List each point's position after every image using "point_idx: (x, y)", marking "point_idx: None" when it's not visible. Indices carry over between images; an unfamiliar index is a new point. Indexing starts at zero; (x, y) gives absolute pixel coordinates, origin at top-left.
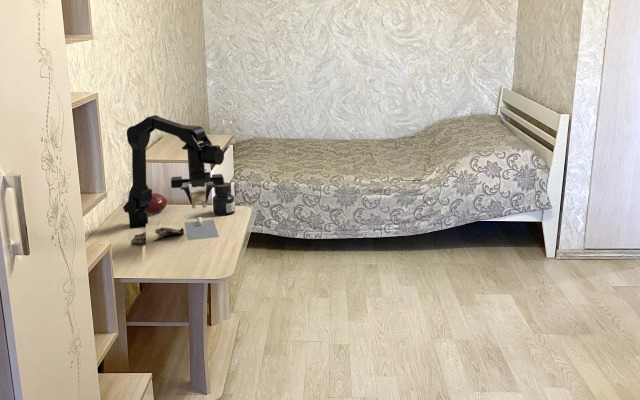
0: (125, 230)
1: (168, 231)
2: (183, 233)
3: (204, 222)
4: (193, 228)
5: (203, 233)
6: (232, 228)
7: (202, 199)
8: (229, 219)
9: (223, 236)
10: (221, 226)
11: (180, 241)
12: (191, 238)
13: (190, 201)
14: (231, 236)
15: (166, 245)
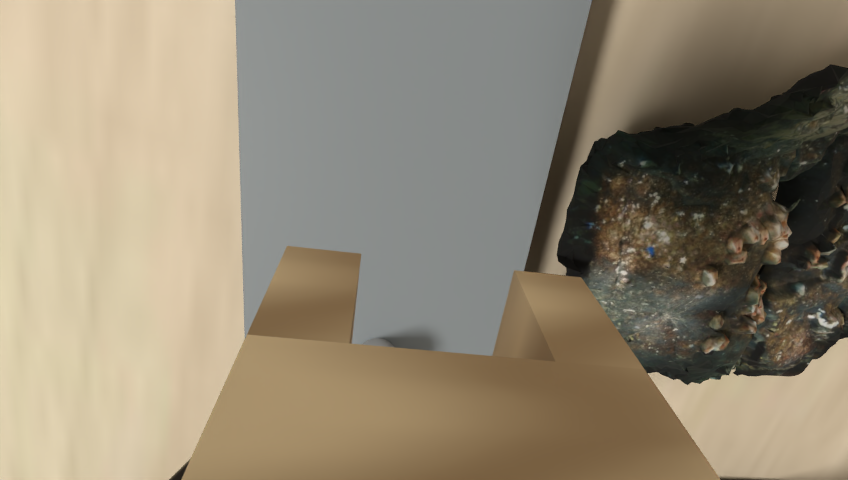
0: (840, 463)
1: (709, 241)
2: (579, 183)
3: None
4: (450, 296)
5: (390, 118)
6: (92, 250)
7: (343, 381)
8: (123, 452)
9: (188, 52)
10: (196, 331)
11: (621, 88)
12: (549, 1)
13: None
14: (97, 12)
15: (774, 27)
